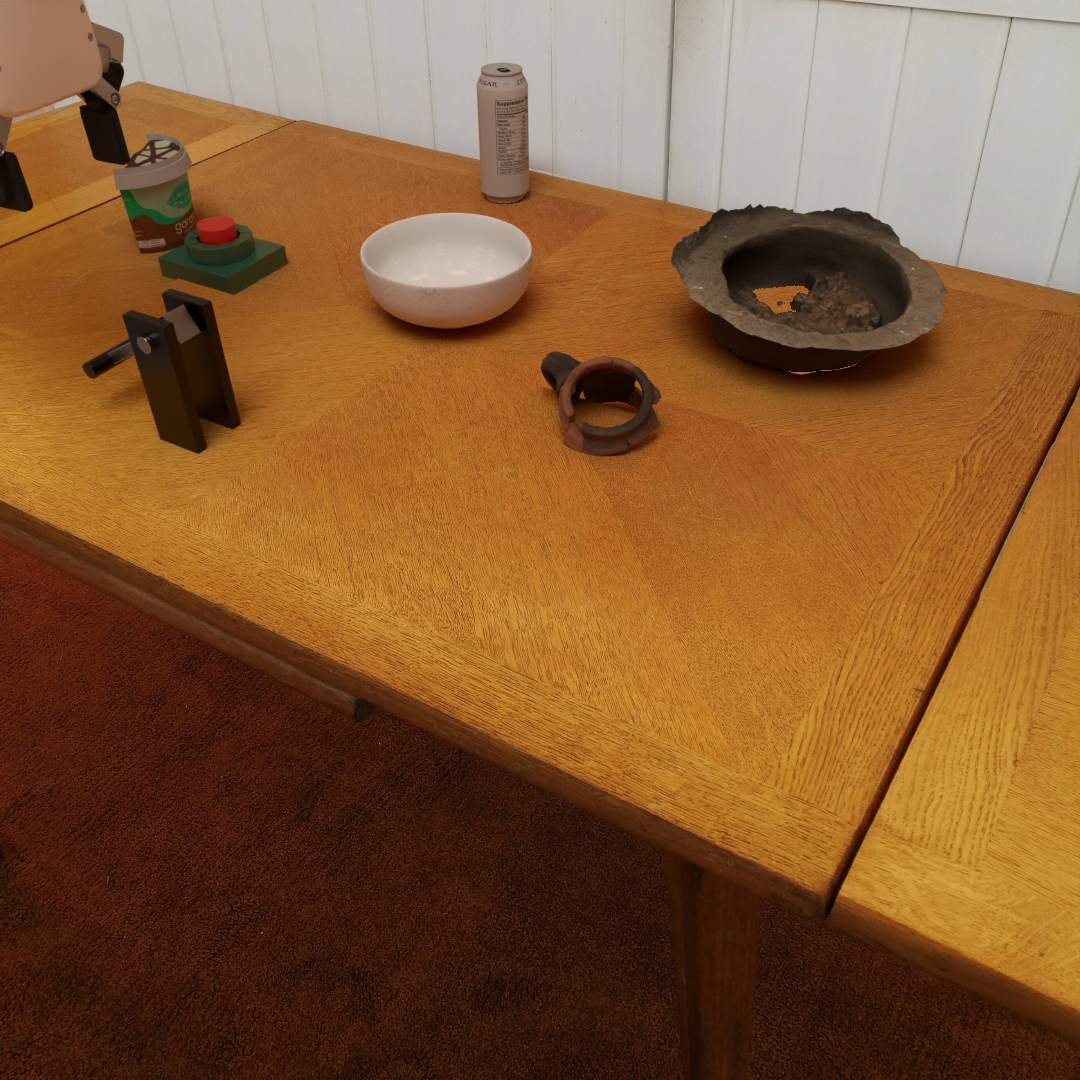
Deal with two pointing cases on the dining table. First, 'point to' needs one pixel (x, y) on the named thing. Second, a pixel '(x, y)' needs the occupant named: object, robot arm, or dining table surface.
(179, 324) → the lever
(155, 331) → the bracket
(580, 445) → the pottery mug
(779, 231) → the stone bowl
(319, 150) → the dining table surface
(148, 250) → the food container
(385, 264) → the cereal bowl
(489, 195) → the energy drink can
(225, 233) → the button
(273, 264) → the button box
